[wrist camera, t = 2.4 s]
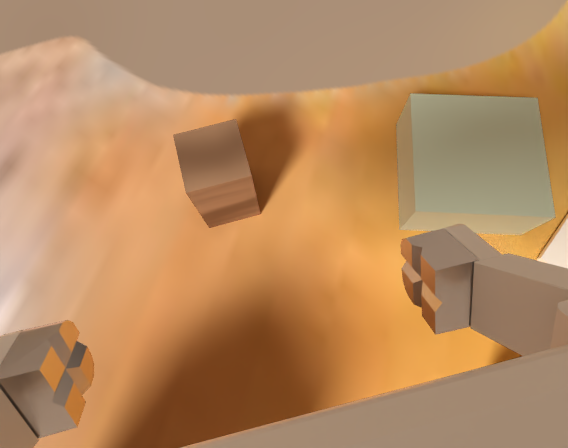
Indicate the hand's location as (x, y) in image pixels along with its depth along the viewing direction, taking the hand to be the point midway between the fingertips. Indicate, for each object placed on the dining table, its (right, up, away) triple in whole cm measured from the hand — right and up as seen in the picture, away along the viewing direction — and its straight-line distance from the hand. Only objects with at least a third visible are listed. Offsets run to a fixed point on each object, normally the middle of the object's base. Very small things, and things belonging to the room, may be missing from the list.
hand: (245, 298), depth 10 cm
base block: (+16, +6, +26) cm, 31 cm away
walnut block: (-4, +4, +25) cm, 26 cm away
